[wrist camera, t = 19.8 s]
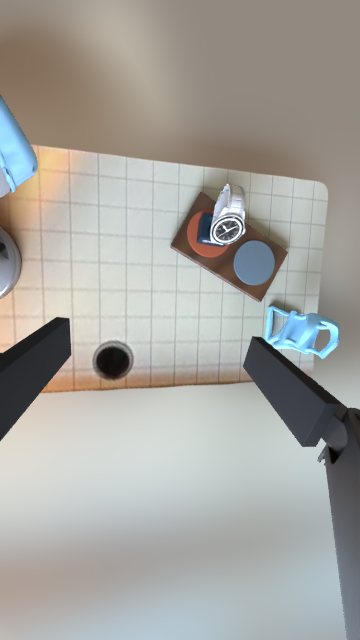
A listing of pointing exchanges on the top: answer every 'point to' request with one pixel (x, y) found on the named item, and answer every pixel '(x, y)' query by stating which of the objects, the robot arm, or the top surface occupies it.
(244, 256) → the slate pad
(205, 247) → the terracotta pad
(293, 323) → the chair
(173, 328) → the top surface
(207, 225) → the watch
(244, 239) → the desk board
